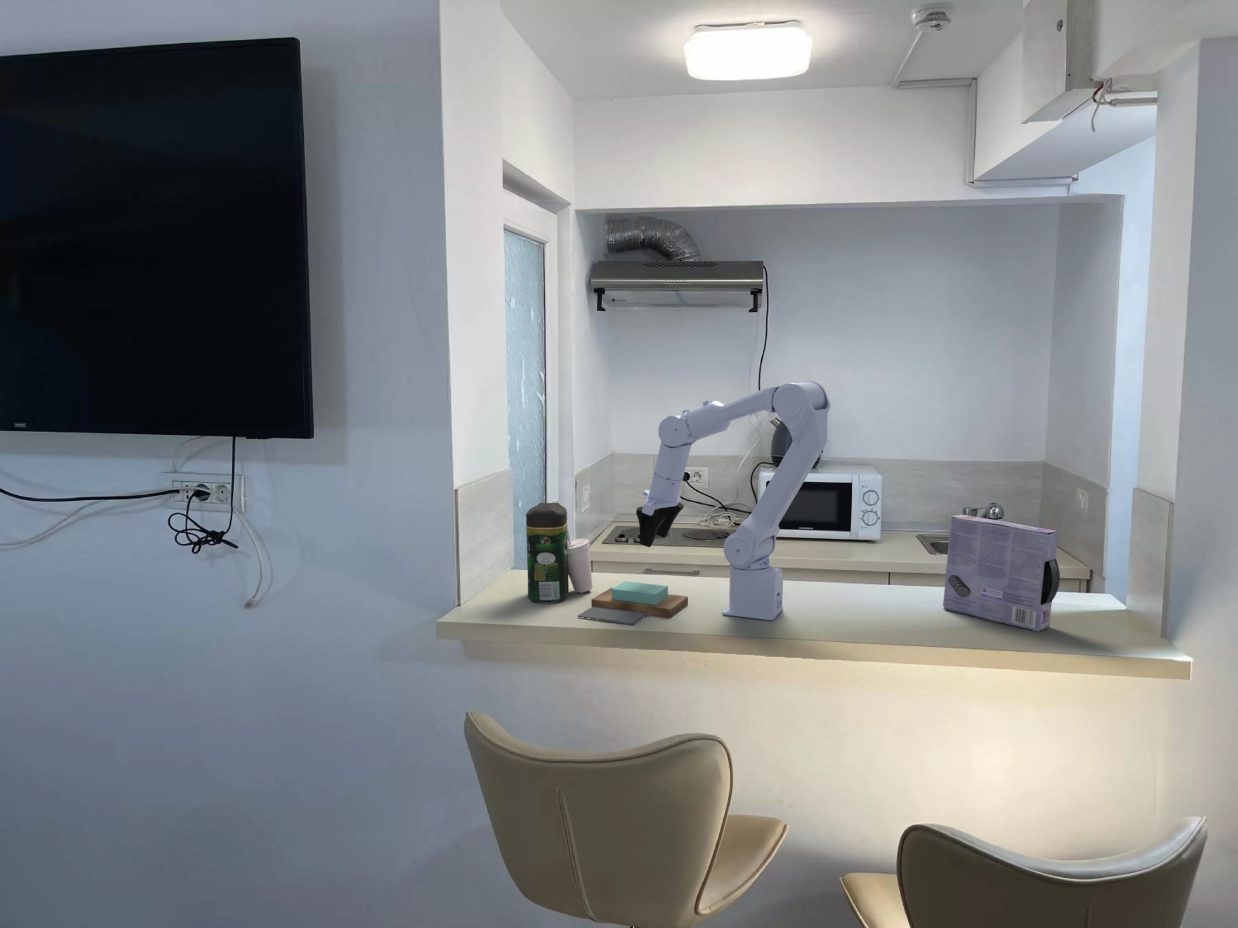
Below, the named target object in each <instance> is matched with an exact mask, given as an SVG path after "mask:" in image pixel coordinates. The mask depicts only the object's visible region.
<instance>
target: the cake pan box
mask: <svg viewBox="0 0 1238 928" xmlns="http://www.w3.org/2000/svg"><path fill="white" fill-rule="evenodd" d="M949 524H950V525H949V535H948V545H947V546H948V547H947V558H946V569H945V580H944V581H945V582H944V591H943V592H944V593H943V603H942V607H943V608H942V609H944V610H947V611H948V610H949V611H953V612H957V613H961V614H964V615H969V616H974V617H976V618H979V619H984V620H988V621H992V622H996V623H999V624H1001V623H1002V624H1006V625H1009V626H1013V627H1014V626H1015V627H1018V628H1022V629H1027V630H1030V631H1034V632H1038V633H1039V632H1041V631H1043V630H1046V629H1049V627H1050V626H1051V614H1052V603H1053V600H1054V598H1055V597H1056V595H1057V593H1058V590H1059V587H1060V579H1061V574H1060V568H1059V564H1058V560H1057V553H1058V552H1057V551H1058V550H1057V549H1058V544H1059V543H1058V541H1059V531H1058V530H1053V529H1048V528H1041V527H1036V526H1030V525H1026V524H1025V525H1024V524H1019V523H1015V522H1014V523H1013V522H1008V521H1002V520H996V519H990V518H984V517H978V516H973V515H967V514H956V515H951V517H950V522H949Z"/></svg>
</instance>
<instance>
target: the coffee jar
mask: <svg viewBox="0 0 1238 928" xmlns="http://www.w3.org/2000/svg"><path fill="white" fill-rule="evenodd" d="M525 514H526V515H525V517H526V518H525V521H526V522H525V526H526V527H525V529H526V533H525V534H526V561H527V566H526V567H527V598H528V600H530V601H531V602H536V603H539V604H552V603H556V602H563V601H564V600H565V599H566V598H567V597H568V595H569V591H570V590H569V589H570V586H569V575H568V552H567V549H568V538H567V526H568V511H567V509H566V507H564V506H563V505H561V504H560V503H559V502H540V503H538V504H537V505H534V506H532V507H531V508H530V509H528V510H527V512H526V513H525ZM551 602H552V603H551Z"/></svg>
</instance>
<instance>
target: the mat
mask: <svg viewBox="0 0 1238 928" xmlns="http://www.w3.org/2000/svg"><path fill="white" fill-rule="evenodd" d="M646 615H647V613H644V612H636V611H628V610H620V609H612V608H605V607H597V606H593V607H591V606H590V608H588V609H586V610H585V611H583V612H581V613H579V614H577V616H578V617H584V618H590V619H598V620H602V621H601V622H604V621H607V622H606V623H612V622H615V623H614V624H621V625H628V626H634V625H635V624H637V623H638V622H640V621H641V620H642V619H644V618H645V617H647V616H648V615H647V616H646ZM643 617H644V618H643ZM590 619H589V620H590ZM640 619H641V620H640ZM639 620H640V621H639ZM636 622H637V623H636Z"/></svg>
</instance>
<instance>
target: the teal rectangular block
mask: <svg viewBox="0 0 1238 928" xmlns="http://www.w3.org/2000/svg"><path fill="white" fill-rule="evenodd" d="M611 588H612V599H613V600H621V601H629V602H637V603H645V604H653V605H656V604H658V603H659V602H661V601H662V600H664V599H665V598H666V597H668V594H669V586H668V585H660V584H651V583H643V582H642V583H641V582H635V581H633V582H632V581H623V582H621V583H619V584H618V585H616V586H614V587H611Z"/></svg>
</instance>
